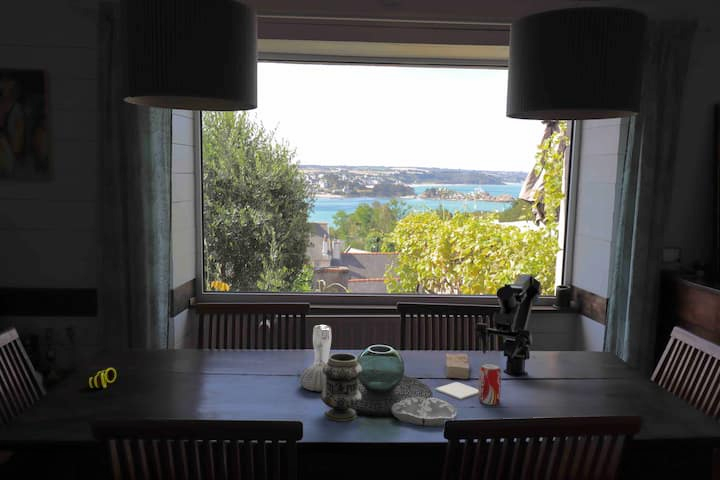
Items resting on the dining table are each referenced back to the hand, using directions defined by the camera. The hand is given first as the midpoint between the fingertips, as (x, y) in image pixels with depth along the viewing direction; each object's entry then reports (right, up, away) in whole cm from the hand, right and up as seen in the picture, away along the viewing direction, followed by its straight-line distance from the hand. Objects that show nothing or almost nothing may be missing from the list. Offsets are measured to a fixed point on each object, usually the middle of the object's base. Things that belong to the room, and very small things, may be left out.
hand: (497, 355), depth 191 cm
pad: (-12, -13, +3) cm, 18 cm away
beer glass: (-60, -10, +27) cm, 67 cm away
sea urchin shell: (-60, -12, +4) cm, 61 cm away
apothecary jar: (-51, -14, -19) cm, 57 cm away
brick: (-9, -11, +25) cm, 29 cm away
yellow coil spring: (-132, -10, +2) cm, 133 cm away
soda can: (-4, -14, -6) cm, 16 cm away
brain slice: (-26, -15, -18) cm, 35 cm away
